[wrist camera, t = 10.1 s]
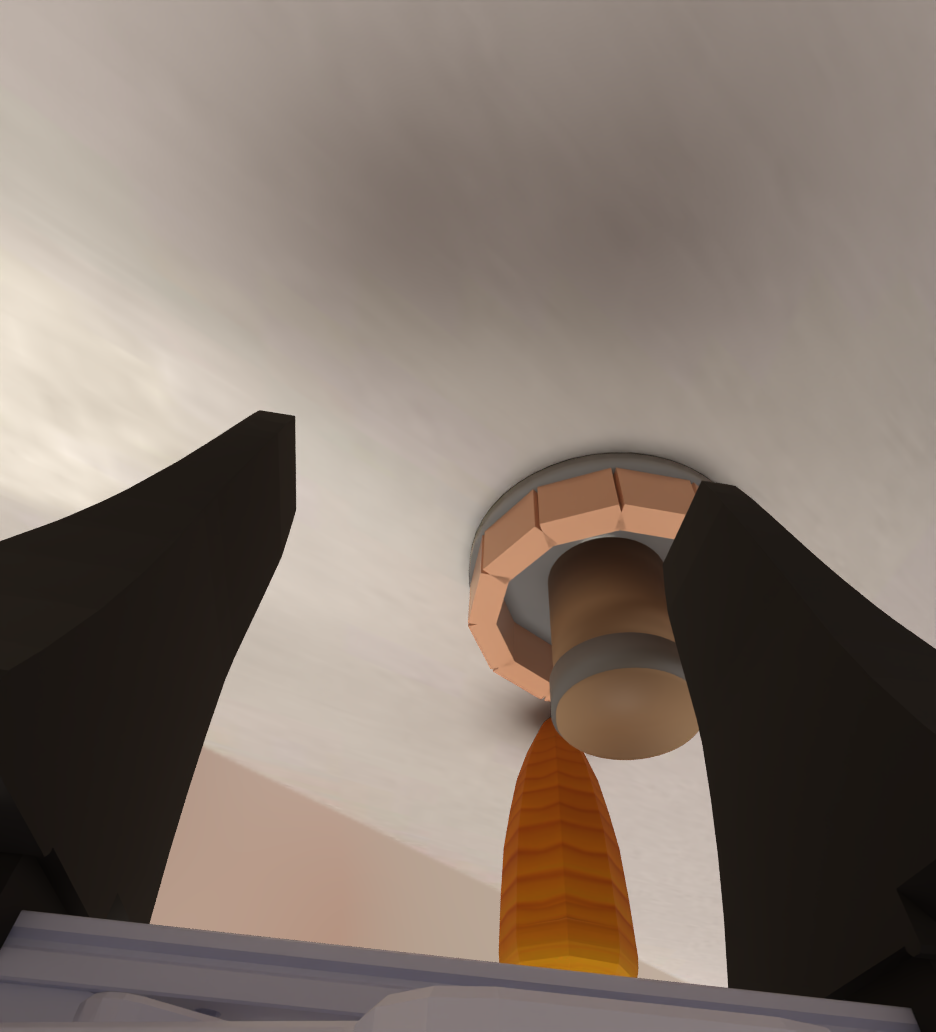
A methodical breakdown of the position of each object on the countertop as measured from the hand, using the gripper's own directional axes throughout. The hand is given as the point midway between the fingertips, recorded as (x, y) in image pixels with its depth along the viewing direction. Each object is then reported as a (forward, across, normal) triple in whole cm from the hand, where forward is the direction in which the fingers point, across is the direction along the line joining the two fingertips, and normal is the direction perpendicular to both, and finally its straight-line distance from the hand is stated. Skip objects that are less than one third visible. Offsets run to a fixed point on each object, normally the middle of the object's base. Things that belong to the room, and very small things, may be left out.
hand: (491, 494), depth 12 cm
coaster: (+9, -6, +9) cm, 14 cm away
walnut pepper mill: (+8, -6, +9) cm, 14 cm away
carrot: (+10, -6, +19) cm, 22 cm away
